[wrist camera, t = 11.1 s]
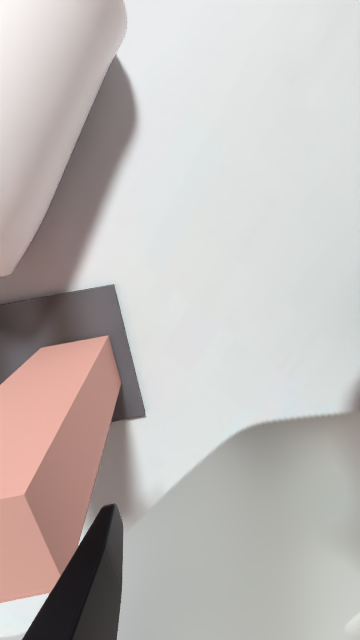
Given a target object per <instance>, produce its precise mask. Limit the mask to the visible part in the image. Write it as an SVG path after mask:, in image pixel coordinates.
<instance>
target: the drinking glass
mask: <svg viewBox="0 0 360 640" xmlns="http://www.w3.org/2000/svg"><path fill="white" fill-rule="evenodd" d="M126 30H127V13H126V7H125V3H124V0H0V277H4V276H8V275H10V274H12V273H13V271H14V269H15V268H16V266H17V264H18V263H19V261H20V260H21V258H22V256H23V255H24V253H25V252H26V250H27V248H28V247H29V245H30V243H31V241H32V240H33V238H34V236H35V234H36V232H37V230H38V228H39V226H40V225H41V223H42V220H43V218H44V216H45V214H46V212H47V210H48V208H49V206H50V203H51V201H52V199H53V196H54V194H55V192H56V189H57V187H58V185H59V182H60V180H61V177H62V175H63V173H64V170H65V168H66V166H67V163H68V161H69V158H70V156H71V154H72V151H73V149H74V147H75V144H76V142H77V140H78V137H79V135H80V133H81V130H82V128H83V126H84V123H85V121H86V119H87V116H88V114H89V112H90V109H91V107H92V105H93V102H94V100H95V98H96V95H97V93H98V91H99V88H100V86H101V84H102V82H103V79H104V77H105V75H106V73H107V70H108V68H109V66H110V64H111V62H112V61H113V59H114V57H115V55H116V53H117V51H118V49H119V47H120V46H121V44H122V42H123V39H124V37H125V34H126Z"/></svg>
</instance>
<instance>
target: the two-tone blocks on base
mask: <svg viewBox="0 0 360 640" xmlns="http://www.w3.org/2000/svg"><path fill="white" fill-rule="evenodd" d="M107 335H109V338H110V342H111V346H112V350H113V354H114V357H115V361H116V365H117V369H118V372H119V376H120V380H121V386H120V389H119V393H118V397H117V401H116V404H115V408H114V412H113V416H112V419H111V422H113V421H118V420H123V419H129V418H134V417H139V416H144V415H145V409H144V405H143V401H142V397H141V393H140V389H139V385H138V381H137V376H136V372H135V368H134V364H133V360H132V356H131V352H130V348H129V344H128V340H127V336H126V331H125V327H124V323H123V319H122V315H121V311H120V307H119V303H118V299H117V295H116V291H115V286H114V284H112V285H107V286H101V287H96V288H90V289H85V290H79V291H74V292H68V293H63V294H57V295H52V296H46V297H41V298H35V299H30V300H24V301H19V302H13V303H8V304H2V305H0V385H1V384H2V383H3V382H4V381H5V380H6V379H7V378H8V377H10V376H11V375H12V374H13V373H14V372H15V371H16V370H17V369H18V368H19V367H21V366H22V365H23V364H24V363H25V362H26V361H27V360H28V359H29V358H30V357H32V356H33V355H34V354H35V353H36V352H37V351H38V350H39V349H40V348H43V347H48V346H54V345H59V344H64V343H70V342H75V341H80V340H86V339H91V338H97V337H102V336H107Z"/></svg>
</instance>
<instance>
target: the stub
mask: <svg viewBox="0 0 360 640" xmlns="http://www.w3.org/2000/svg"><path fill="white" fill-rule="evenodd" d="M120 386H121V380H120V376H119V372H118V369H117V365H116V361H115V357H114V354H113V350H112V346H111V342H110V338H109V335H107V336H102V337H97V338H91V339H86V340H80V341H75V342H70V343H64V344H59V345H54V346H48V347H43V348H40V349H39V350H38V351H37V352H36V353H35V354H34V355H33V356H32V357H30V358H29V359H28V360H27V361H26V362H25V363H24V364H23V365H22V366H21V367H19V368H18V369H17V370H16V371H15V372H14V373H13V374H12V375H11V376H10V377H8V378H7V379H6V380H5V381H4V382H3V383H2V384H1V385H0V603H2V602H7V601H12V600H17V599H22V598H26V597H31V596H36V595H41V594H46V593H51V591H52V589H53V588H54V586H55V584H56V583H57V581H58V579H59V578H60V576H61V574H62V573H63V571H64V570H65V568H66V566H67V565H68V563H69V561H70V560H71V558H72V556H73V555H74V553H75V551H76V550H77V547H78V544H79V540H80V536H81V532H82V529H83V525H84V521H85V517H86V514H87V510H88V506H89V502H90V498H91V495H92V491H93V487H94V483H95V480H96V476H97V472H98V468H99V465H100V461H101V457H102V453H103V450H104V446H105V442H106V438H107V435H108V431H109V427H110V423H111V419H112V416H113V412H114V408H115V404H116V401H117V397H118V393H119V389H120Z"/></svg>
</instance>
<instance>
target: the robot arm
mask: <svg viewBox="0 0 360 640" xmlns="http://www.w3.org/2000/svg"><path fill="white" fill-rule="evenodd" d="M122 561H123V523H122V519H121V516H120V513H119V510H118V507H117V505H116V504H110V505H105V506H103V507H102V508H101V510H100V512H99V513H98V515H97V517H96V518H95V520H94V522H93V523H92V525H91V527H90V528H89V530H88V532H87V533H86V535H85V536H84V538H83V540H82V541H81V543H80V545H79V546H78V548H77V550H76V551H75V553H74V555H73V556H72V558H71V560H70V561H69V563H68V565H67V566H66V568H65V570H64V571H63V573H62V574H61V576H60V578H59V579H58V581H57V583H56V584H55V586H54V588H53V589H52V591H51V593H50V594H49V596H48V598H47V599H46V601H45V603H44V604H43V606H42V607H41V609H40V611H39V612H38V614H37V616H36V617H35V619H34V621H33V622H32V624H31V626H30V627H29V629H28V631H27V632H26V634H25V636H24V638H23V639H22V640H117V631H118V622H119V613H120V603H121V592H122Z"/></svg>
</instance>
